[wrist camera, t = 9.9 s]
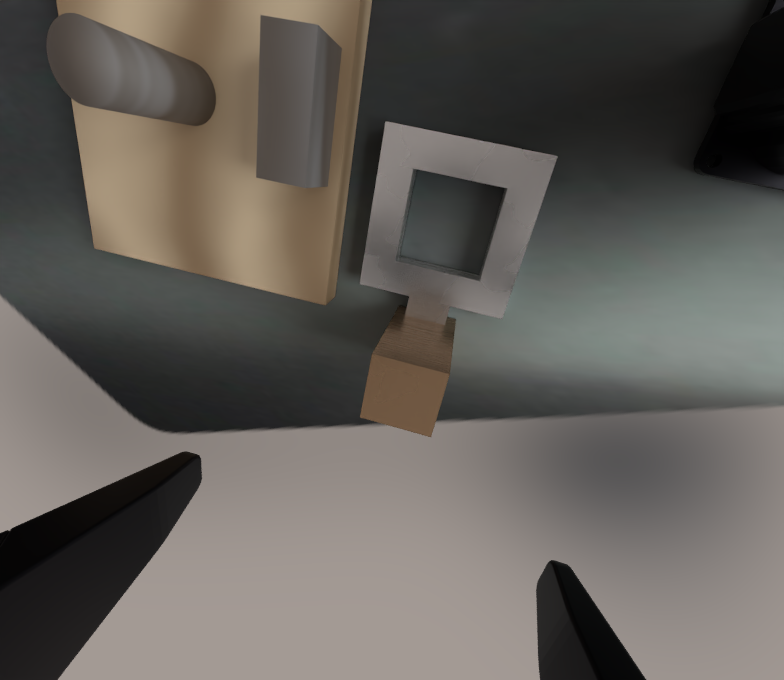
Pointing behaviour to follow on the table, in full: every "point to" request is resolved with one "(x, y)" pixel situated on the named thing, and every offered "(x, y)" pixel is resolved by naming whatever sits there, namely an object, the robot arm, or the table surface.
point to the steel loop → (433, 282)
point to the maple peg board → (217, 132)
